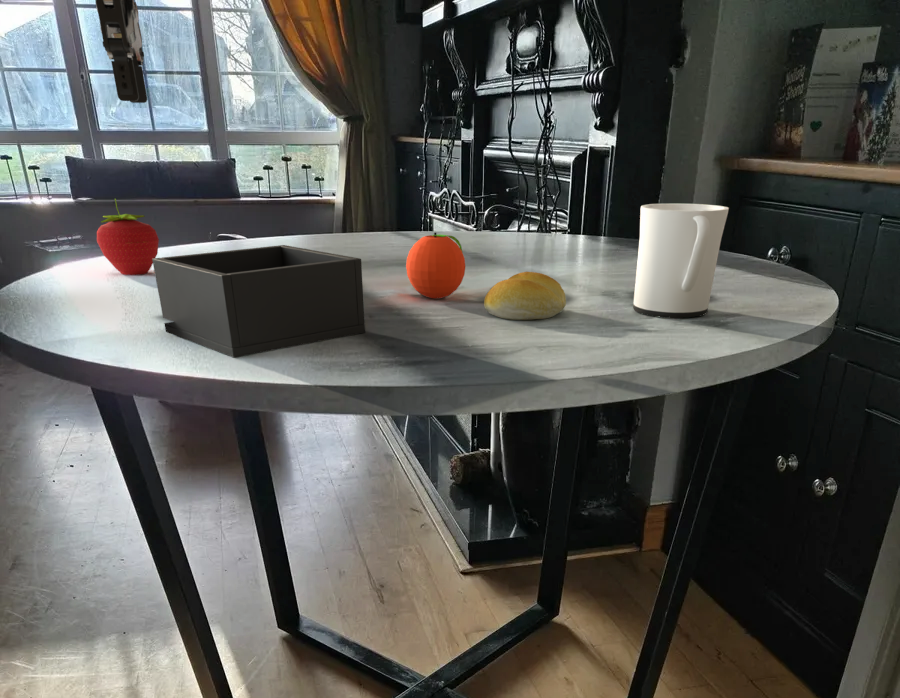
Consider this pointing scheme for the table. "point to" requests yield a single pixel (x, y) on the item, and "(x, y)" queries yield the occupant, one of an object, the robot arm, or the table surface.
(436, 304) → the table surface
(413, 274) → the clementine
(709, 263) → the mug
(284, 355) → the table surface
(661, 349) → the table surface
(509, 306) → the bread roll
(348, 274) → the open box
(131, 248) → the strawberry
